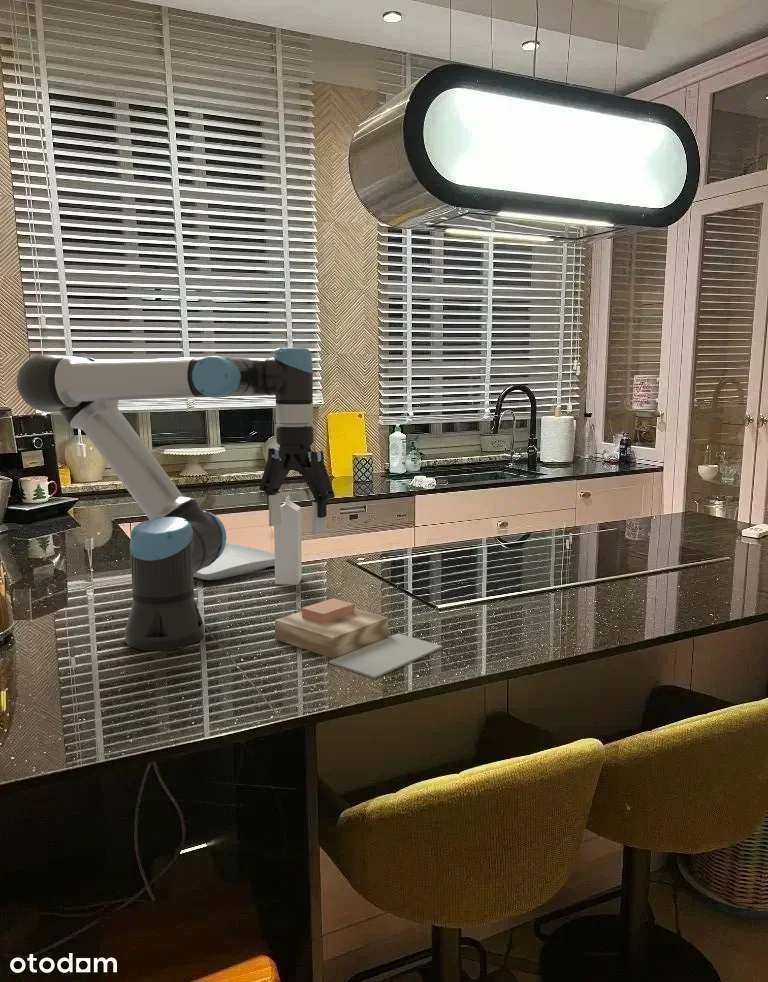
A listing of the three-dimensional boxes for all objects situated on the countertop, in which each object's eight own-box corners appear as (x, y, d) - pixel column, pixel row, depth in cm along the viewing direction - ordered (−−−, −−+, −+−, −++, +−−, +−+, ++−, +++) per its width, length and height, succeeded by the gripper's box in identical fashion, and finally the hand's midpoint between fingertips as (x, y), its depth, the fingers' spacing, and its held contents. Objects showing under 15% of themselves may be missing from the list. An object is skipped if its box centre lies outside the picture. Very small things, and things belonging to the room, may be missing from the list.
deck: (332, 658, 139) (332, 637, 139) (275, 639, 150) (274, 619, 149) (388, 636, 151) (388, 617, 151) (331, 620, 162) (331, 602, 161)
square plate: (289, 568, 207) (288, 554, 207) (205, 588, 187) (205, 573, 186) (229, 552, 225) (228, 540, 225) (147, 569, 205) (146, 555, 204)
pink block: (323, 623, 147) (323, 614, 146) (301, 617, 151) (301, 608, 150) (354, 613, 154) (354, 603, 153) (333, 607, 157) (333, 598, 157)
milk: (275, 584, 189) (272, 498, 186) (279, 578, 195) (277, 494, 192) (299, 584, 189) (297, 498, 186) (302, 578, 195) (300, 494, 192)
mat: (374, 678, 130) (374, 676, 130) (329, 663, 137) (329, 660, 137) (442, 647, 145) (442, 645, 145) (398, 635, 152) (398, 633, 152)
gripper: (351, 426, 148) (352, 533, 151) (268, 422, 163) (270, 519, 166) (325, 428, 142) (326, 539, 145) (241, 423, 157) (243, 524, 161)
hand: (296, 529), depth 156 cm, fingers open, 12 cm apart
